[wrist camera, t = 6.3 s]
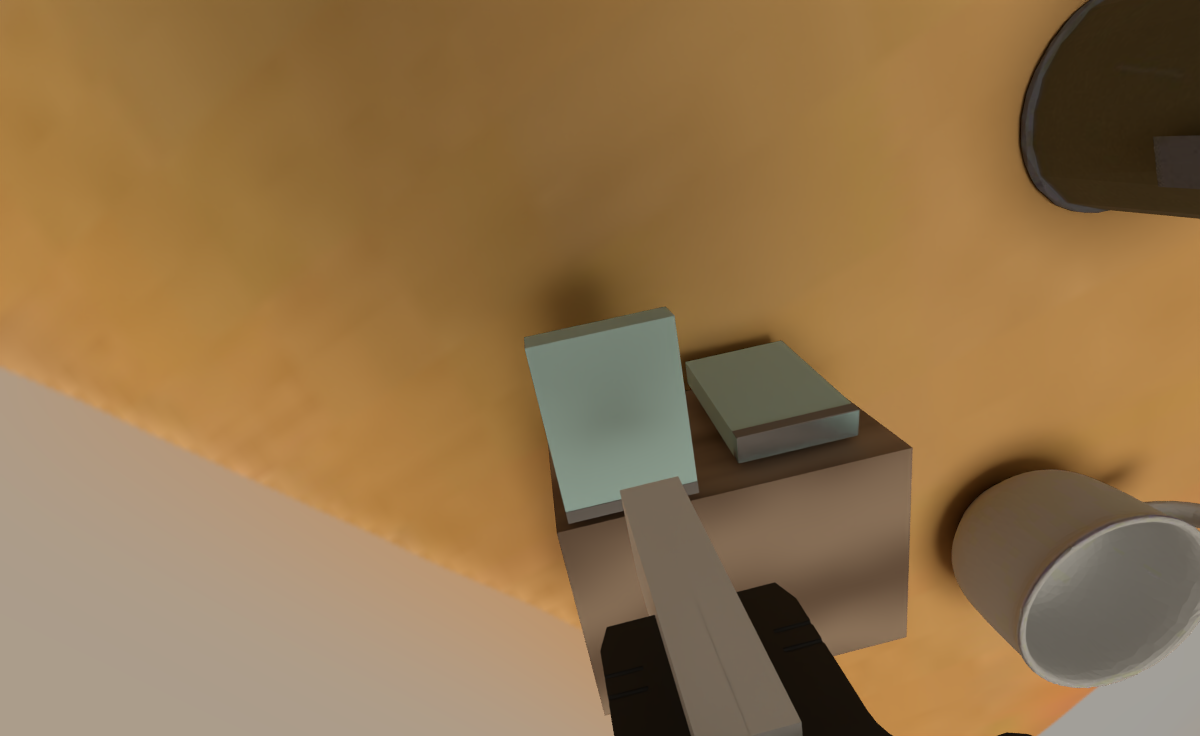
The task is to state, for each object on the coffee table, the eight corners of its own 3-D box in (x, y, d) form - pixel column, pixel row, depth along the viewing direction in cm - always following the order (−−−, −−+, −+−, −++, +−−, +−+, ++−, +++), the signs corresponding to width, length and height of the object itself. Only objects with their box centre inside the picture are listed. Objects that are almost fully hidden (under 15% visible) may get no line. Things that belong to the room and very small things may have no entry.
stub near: (524, 337, 19) (524, 349, 18) (665, 306, 19) (674, 316, 18) (566, 504, 22) (568, 523, 21) (689, 475, 22) (699, 492, 21)
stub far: (687, 382, 28) (685, 361, 28) (781, 361, 29) (781, 339, 28) (738, 463, 22) (736, 438, 22) (858, 435, 23) (859, 409, 22)
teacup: (921, 602, 38) (1018, 711, 30) (925, 467, 34) (1039, 555, 26) (1111, 552, 39) (1251, 647, 31) (1138, 414, 35) (1306, 485, 27)
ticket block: (545, 422, 29) (556, 532, 21) (801, 364, 30) (912, 447, 22) (582, 570, 33) (605, 715, 25) (808, 515, 34) (906, 637, 25)
